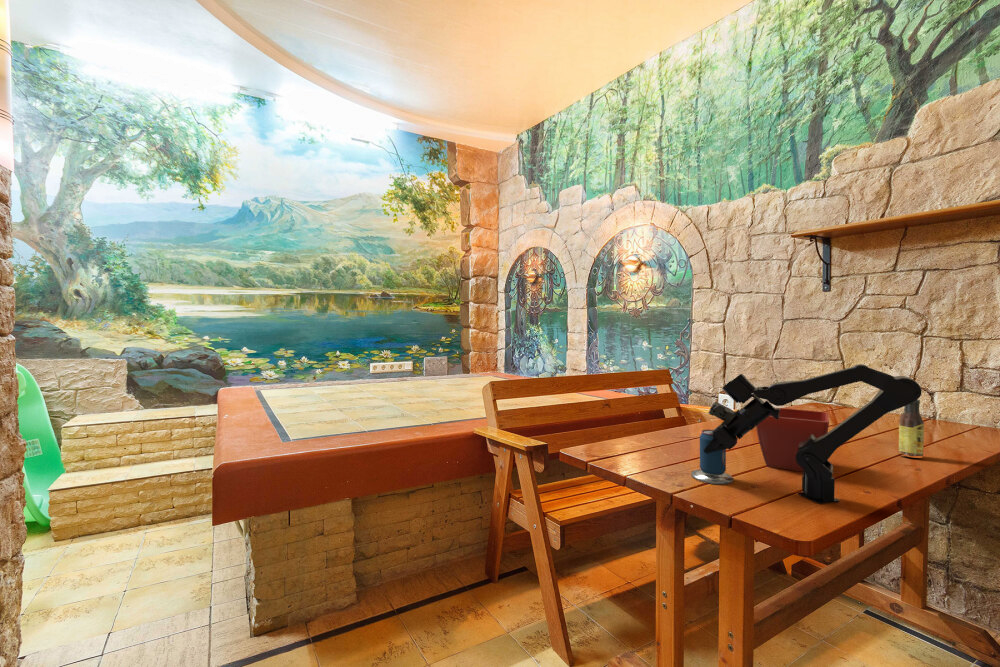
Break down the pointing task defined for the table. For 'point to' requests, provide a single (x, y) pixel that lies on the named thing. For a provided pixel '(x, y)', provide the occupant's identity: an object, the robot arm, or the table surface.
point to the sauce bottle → (911, 431)
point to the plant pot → (789, 435)
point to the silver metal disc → (712, 478)
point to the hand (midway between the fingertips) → (707, 449)
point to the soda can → (711, 456)
